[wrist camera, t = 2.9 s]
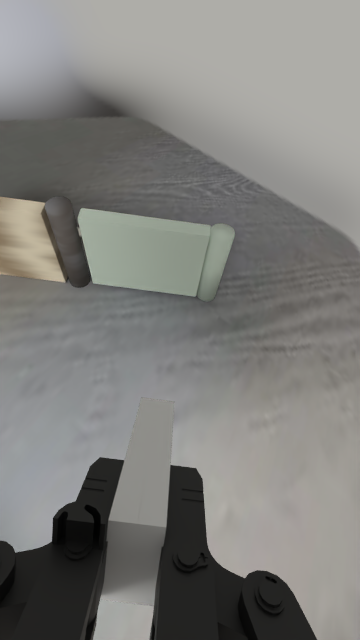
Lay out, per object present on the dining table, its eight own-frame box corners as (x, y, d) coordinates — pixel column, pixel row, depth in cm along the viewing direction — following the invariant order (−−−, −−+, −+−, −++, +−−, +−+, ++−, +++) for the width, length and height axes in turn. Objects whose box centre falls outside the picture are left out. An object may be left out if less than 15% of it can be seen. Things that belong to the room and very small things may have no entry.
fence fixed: (-58, 269, 33) (-127, 189, 24) (-49, 254, 34) (-113, 172, 25) (87, 288, 33) (67, 216, 25) (92, 273, 34) (74, 198, 26)
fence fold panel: (92, 286, 33) (76, 221, 25) (96, 270, 34) (82, 204, 26) (215, 302, 33) (234, 243, 26) (216, 286, 34) (235, 225, 27)
